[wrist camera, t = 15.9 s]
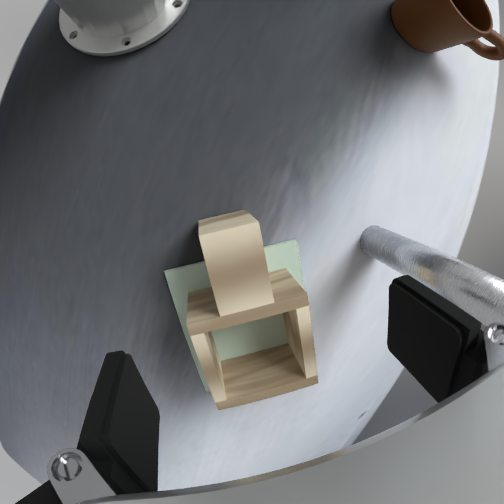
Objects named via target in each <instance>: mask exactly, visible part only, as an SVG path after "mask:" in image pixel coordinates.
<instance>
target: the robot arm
mask: <svg viewBox="0 0 504 504" xmlns="http://www.w3.org/2000/svg"><path fill="white" fill-rule="evenodd" d="M54 1H55V2H56V3H57V4H58V5H59V6H60V7H61V8H60V13H59V26H60V30H61V32H62V35H63V37H64V38H65V39H66V40H67V42H68V43H69V44H70V45H72V46H73V47H74V48H75V49H77V50H79V51H81V52H83V53H85V54H90V55H94V56H114V55H121V54H125V53H128V52H132V51H135V50H137V49H140V48H142V47H145V46H147V45H148V44H150V43H152V42H154V41H156V40H157V39H159V38H160V37H161V36H163V35H164V34H166V33H167V32H168V31H169V30H170V29H171V28H172V27H173V26H174V25H175V24H176V23H177V22H178V21H179V20H180V18H181V17H182V15H183V14H184V13H185V11H186V9H187V6H188V4H189V1H190V0H54ZM176 7H178V8H176ZM75 37H76V38H75ZM127 43H130V44H129V45H127V46H126V44H127ZM480 328H481V322H480V321H478V320H477V319H476V318H474V317H473V316H471V315H470V314H468V313H467V312H465V311H464V310H462V309H461V308H459V307H458V306H456V305H455V304H453V303H452V302H450V301H449V300H447V299H446V298H444V297H443V296H441V295H439V294H438V293H436V292H435V291H433V290H432V289H430V288H429V287H427V286H425V285H424V284H422V283H421V282H419V281H417V280H416V279H414V278H413V277H411V276H409V275H404V276H401V277H398V278H395V279H394V280H393V281H392V284H391V285H390V286H389V316H388V338H387V345H388V349H389V351H390V352H391V353H392V354H393V355H394V356H395V357H396V358H397V359H398V360H399V361H400V362H401V364H402V365H403V366H404V367H405V368H406V369H407V370H408V371H409V372H410V373H411V374H412V375H413V376H414V377H415V378H416V379H417V380H418V382H419V383H420V384H421V385H422V386H423V387H424V388H425V389H426V390H427V391H428V393H430V395H431V396H432V397H433V398H434V399H435V400H436V401H437V402H438V404H436V405H435V406H433V407H431V408H429V409H427V410H426V411H424V412H422V413H420V414H419V415H416V416H414V417H412V418H411V419H409V420H407V421H405V422H403V423H401V424H399V425H397V426H394V427H393V428H390V429H388V430H386V431H384V432H382V433H380V434H377V435H375V436H373V437H370V438H368V439H366V440H363V441H361V442H359V443H356V444H354V445H351V446H349V447H346V448H344V449H341V450H338V451H336V452H333V453H330V454H327V455H325V456H322V457H319V458H316V459H313V460H310V461H307V462H304V463H300V464H297V465H294V466H290V467H287V468H283V469H280V470H276V471H272V472H268V473H265V474H261V475H256V476H252V477H248V478H243V479H238V480H233V481H228V482H223V483H217V484H211V485H205V486H198V487H191V488H184V489H176V490H167V491H157V490H158V443H159V421H160V415H159V410H158V408H157V406H156V404H155V402H154V400H153V398H152V396H151V395H150V393H149V391H148V389H147V387H146V385H145V383H144V381H143V379H142V377H141V375H140V373H139V371H138V369H137V367H136V365H135V363H134V361H133V359H132V357H131V355H130V354H125V352H124V351H116V352H110V353H107V354H106V356H105V359H104V362H103V365H102V368H101V371H100V374H99V377H98V380H97V383H96V386H95V389H94V392H93V395H92V397H91V400H90V403H89V407H88V410H87V413H86V417H85V420H84V424H83V427H82V431H81V434H80V438H79V442H78V445H77V449H76V448H67V449H63V450H61V451H59V452H57V453H56V454H55V455H54V456H53V457H52V458H51V460H50V461H49V463H48V466H47V474H48V477H49V479H50V480H48V481H47V482H45V483H44V484H43V485H41V486H40V487H38V488H37V489H36V490H34V491H33V492H31V493H30V494H28V495H27V496H25V497H24V498H23V499H21V500H20V501H18V502H17V503H15V504H504V323H503V322H496V323H492V324H489V325H488V326H487V327H486V328H485V330H484V332H483V331H482V330H481V329H480Z"/></svg>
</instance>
